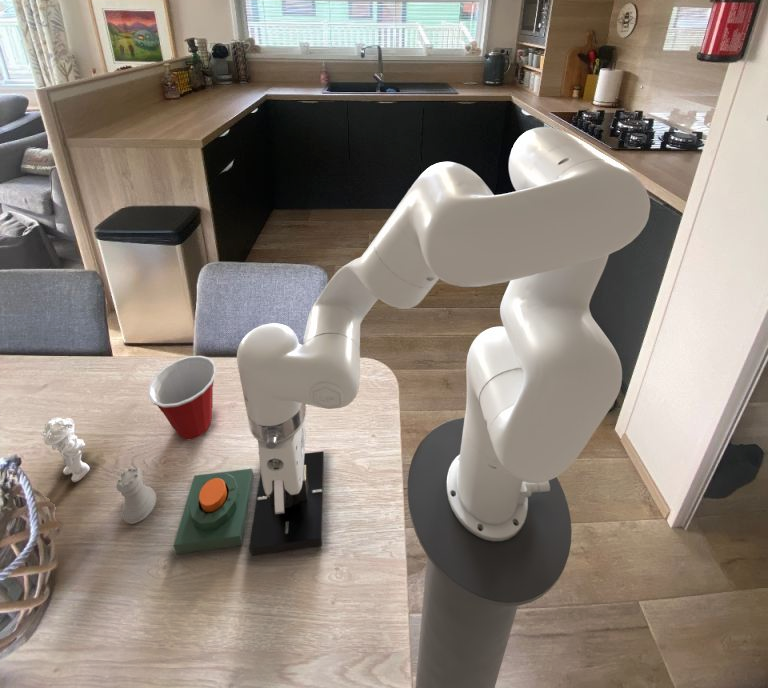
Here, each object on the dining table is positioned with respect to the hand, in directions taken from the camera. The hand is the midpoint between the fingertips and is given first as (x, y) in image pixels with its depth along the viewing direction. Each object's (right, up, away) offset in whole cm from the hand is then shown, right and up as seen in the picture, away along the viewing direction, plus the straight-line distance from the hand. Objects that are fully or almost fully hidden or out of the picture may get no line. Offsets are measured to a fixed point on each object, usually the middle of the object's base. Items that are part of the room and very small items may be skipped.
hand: (289, 490), depth 59 cm
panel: (0, -3, +1) cm, 3 cm away
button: (-11, 0, -1) cm, 11 cm away
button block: (-11, -3, 0) cm, 11 cm away
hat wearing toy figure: (-37, -1, +5) cm, 37 cm away
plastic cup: (-21, +2, +13) cm, 24 cm away
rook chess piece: (-23, -3, +1) cm, 23 cm away
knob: (0, -1, 0) cm, 1 cm away
